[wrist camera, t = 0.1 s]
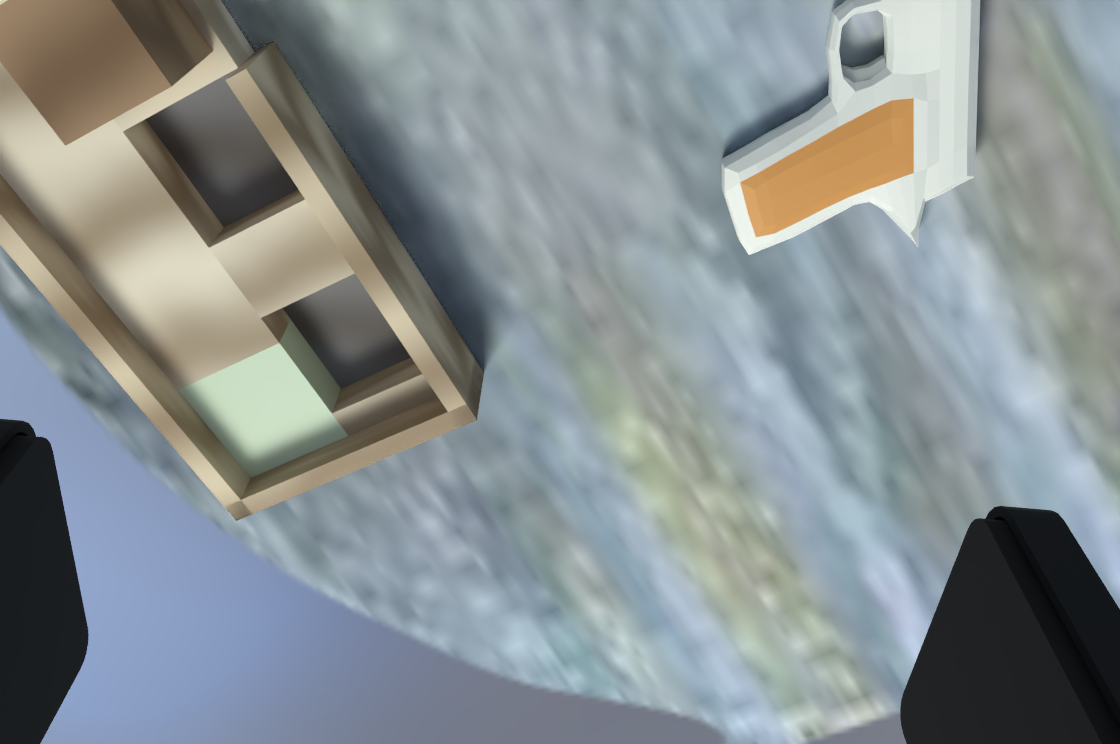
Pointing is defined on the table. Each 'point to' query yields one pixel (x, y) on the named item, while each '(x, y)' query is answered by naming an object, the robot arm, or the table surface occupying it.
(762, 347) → the table surface
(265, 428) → the pad
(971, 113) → the pistol
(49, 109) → the block
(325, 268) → the tray
